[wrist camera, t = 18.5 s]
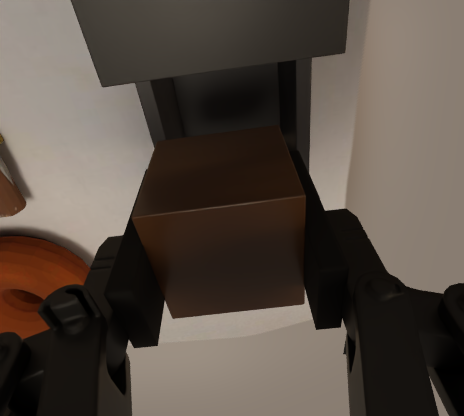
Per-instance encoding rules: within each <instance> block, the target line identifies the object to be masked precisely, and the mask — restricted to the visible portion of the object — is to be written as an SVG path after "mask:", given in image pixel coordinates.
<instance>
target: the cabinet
mask: <svg viewBox="0 0 464 416" xmlns="http://www.w3.org/2000/svg"><path fill="white" fill-rule="evenodd" d="M349 1H350V0H71V2H72V5H73V8H74V11H75V13H76V16H77V19H78V22H79V24H80V27H81V30H82V33H83V36H84V38H85V41H86V44H87V47H88V49H89V52H90V55H91V58H92V61H93V63H94V66H95V69H96V72H97V74H98V77H99V80H100V83H101V85H102V87H108V86H115V85H123V84H130V83H137V82H144V81H151V80H158V79H165V78H172V77H179V76H186V75H193V74H201V73H208V72H215V71H222V70H229V69H236V68H243V67H250V66H257V65H264V64H271V63H279V62H286V61H293V60H300V59H307V58H314V57H321V56H328V55H335V54H342V53H345V51H346V39H347V26H348V14H349Z"/></svg>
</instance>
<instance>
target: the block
mask: <svg viewBox="0 0 464 416" xmlns="http://www.w3.org/2000/svg"><path fill="white" fill-rule="evenodd" d="M305 208H306V195H305V193H304V190H303V188H302V185H301V182H300V180H299V177H298V174H297V172H296V169H295V167H294V164H293V161H292V159H291V156H290V154H289V151H288V148H287V146H286V143H285V140H284V138H283V135H282V133H281V130H280V127H279V125H272V126H265V127H258V128H251V129H243V130H236V131H229V132H221V133H214V134H207V135H199V136H192V137H185V138H178V139H170V140H163V141H157V143H156V146H155V148H154V151H153V154H152V157H151V160H150V163H149V166H148V169H147V172H146V175H145V178H144V181H143V184H142V187H141V190H140V193H139V196H138V199H137V202H136V205H135V208H134V211H133V214H132V217H131V218H132V221H133V223H134V225H135V228H136V230H137V233H138V235H139V238H140V240H141V243H142V245H143V246H144V249H145V251H146V254H147V256H148V259H149V261H150V264H151V266H152V269H153V271H154V274H155V276H156V279H157V281H158V284H159V286H160V289H161V291H162V294H163V296H164V299H165V301H166V304H167V306H168V309H169V311H170V314H171V316H172V318H173V319H175V318H184V317H193V316H202V315H211V314H221V313H230V312H239V311H248V310H257V309H266V308H275V307H284V306H293V305H302V304H304V302H305V287H304V262H305Z"/></svg>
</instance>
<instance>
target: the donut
mask: <svg viewBox="0 0 464 416" xmlns="http://www.w3.org/2000/svg"><path fill="white" fill-rule="evenodd" d="M90 270H91V269H90V268H89V266H88V265H87V264H86V263H85V262H84V261H83V260H82V259H81V258H79V257H78V256H76V255H75V254H73V253H72V252H70V251H69V250H67V249H66V248H64V247H61V246H59V245H56V244H53V243H51V242H48V241H46V240H42V239H36V238H31V237H25V236H8V237H0V333H4V332H15V333H16V334H18V335H19V336H20V337H21V338H22V339H24V338H27V337H30V336H32V335H35V334H38V333H40V332H43V331H45V330H48V329H50V327H49V326H48V325H47V324H46V322H45V321H44V320H43V319H42V318H41V316H40V315H39V314H38V313H37V311H38V309H39V307H40V304H41V303H42V302H43V301H44V299H45V298H46V297H47V296H48V295H50V294H51V293H52V292H54V291H55V290H57V289H59V288H61V287H64V286H66V285H71V284H79V285H84V282H85V280H86V277H87V275H88V273H89V271H90ZM24 290H25V291H24ZM26 291H28V292H26ZM29 292H31V293H29ZM32 293H34V294H32ZM35 294H36V295H35Z"/></svg>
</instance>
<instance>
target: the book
mask: <svg viewBox="0 0 464 416" xmlns="http://www.w3.org/2000/svg"><path fill="white" fill-rule="evenodd" d="M3 141H4V140H3V138H2V136H1V134H0V144H1V143H2V142H3ZM25 206H26V201H25V199H24V197H23V196H22V194H21V192H20V191H19V189H18V187H17V186H16V184H15V182H14V181H13V179H12V177H11V176H10V173H9V171H8V168H7V167H6V165H5V163H4V162H3V160H2V158H1V157H0V217H7V216H13V215H15V214H17V213H18V212H20V211H21V210H23V209H24V208H25Z"/></svg>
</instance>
